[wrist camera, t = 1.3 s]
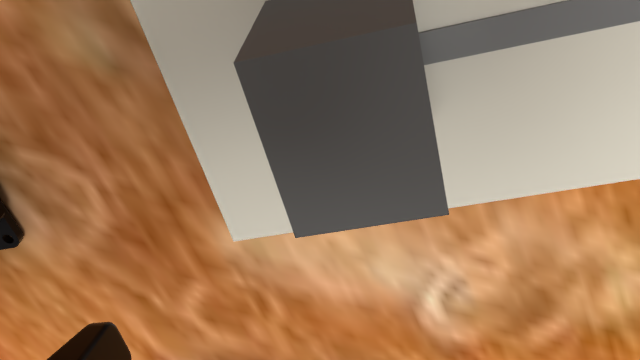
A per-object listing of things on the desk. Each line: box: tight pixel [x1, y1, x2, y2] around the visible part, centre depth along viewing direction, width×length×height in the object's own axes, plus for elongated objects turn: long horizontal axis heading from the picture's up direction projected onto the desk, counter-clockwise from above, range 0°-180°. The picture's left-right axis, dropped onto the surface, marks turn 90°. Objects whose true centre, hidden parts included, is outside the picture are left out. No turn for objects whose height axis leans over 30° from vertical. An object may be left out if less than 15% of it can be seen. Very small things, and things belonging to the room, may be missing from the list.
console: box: [130, 0, 640, 241], centre depth 18 cm, size 22×12×3 cm, turn 105°
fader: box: [234, 0, 449, 238], centre depth 15 cm, size 4×5×4 cm
